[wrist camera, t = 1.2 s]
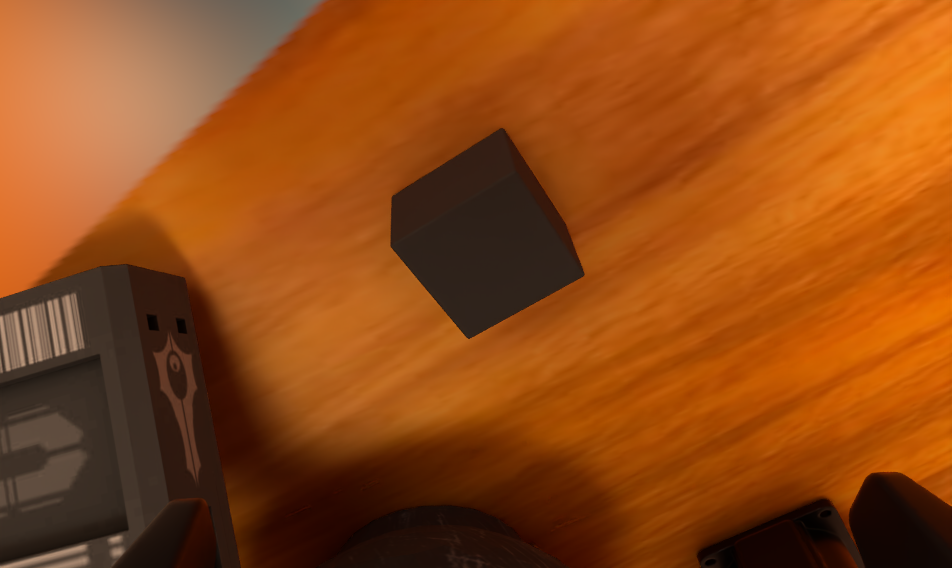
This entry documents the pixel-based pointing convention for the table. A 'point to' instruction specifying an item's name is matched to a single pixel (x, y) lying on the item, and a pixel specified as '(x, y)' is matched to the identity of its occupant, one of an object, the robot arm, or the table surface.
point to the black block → (483, 236)
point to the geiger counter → (102, 418)
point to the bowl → (439, 542)
